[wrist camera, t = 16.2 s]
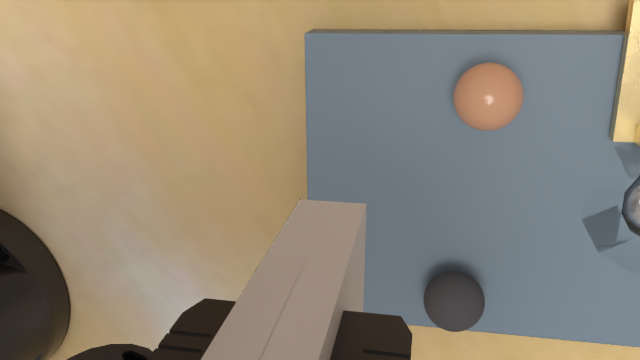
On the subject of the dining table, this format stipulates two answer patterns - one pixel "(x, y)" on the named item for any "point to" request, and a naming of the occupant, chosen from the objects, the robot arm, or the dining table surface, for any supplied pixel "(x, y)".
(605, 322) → the grey flat board
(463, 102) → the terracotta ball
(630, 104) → the brass cover
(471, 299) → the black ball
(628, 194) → the steel ball
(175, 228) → the dining table surface
